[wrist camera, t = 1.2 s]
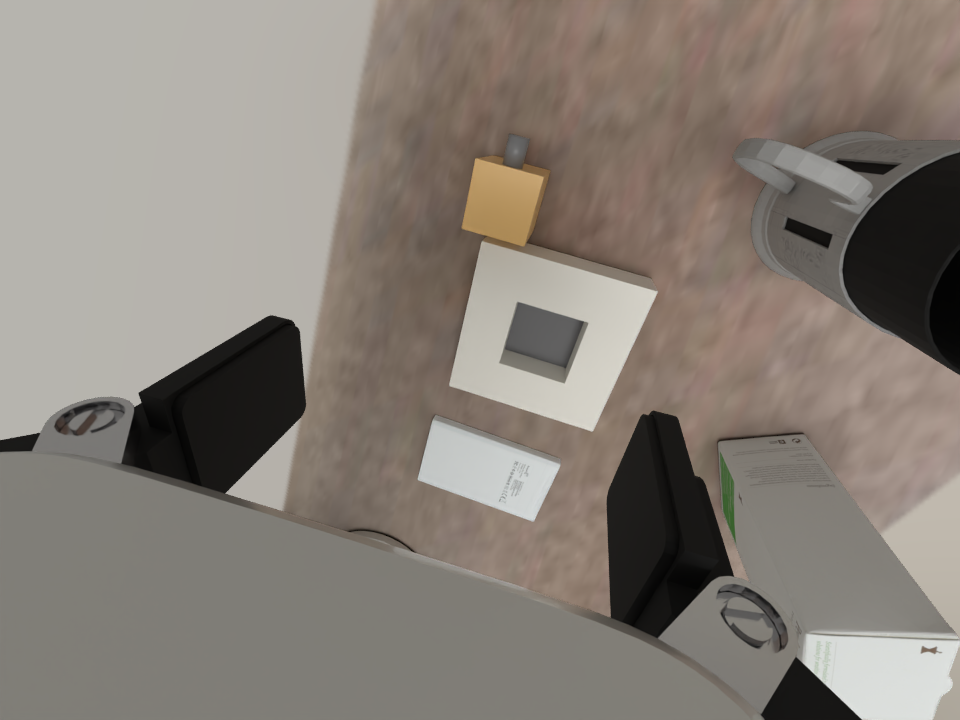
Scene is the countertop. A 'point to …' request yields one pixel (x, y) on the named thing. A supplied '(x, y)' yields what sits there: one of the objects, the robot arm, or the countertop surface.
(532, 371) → the socket
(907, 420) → the countertop surface
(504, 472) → the external hard drive
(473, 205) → the plug
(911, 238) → the glass holder
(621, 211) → the countertop surface
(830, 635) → the skincare box
